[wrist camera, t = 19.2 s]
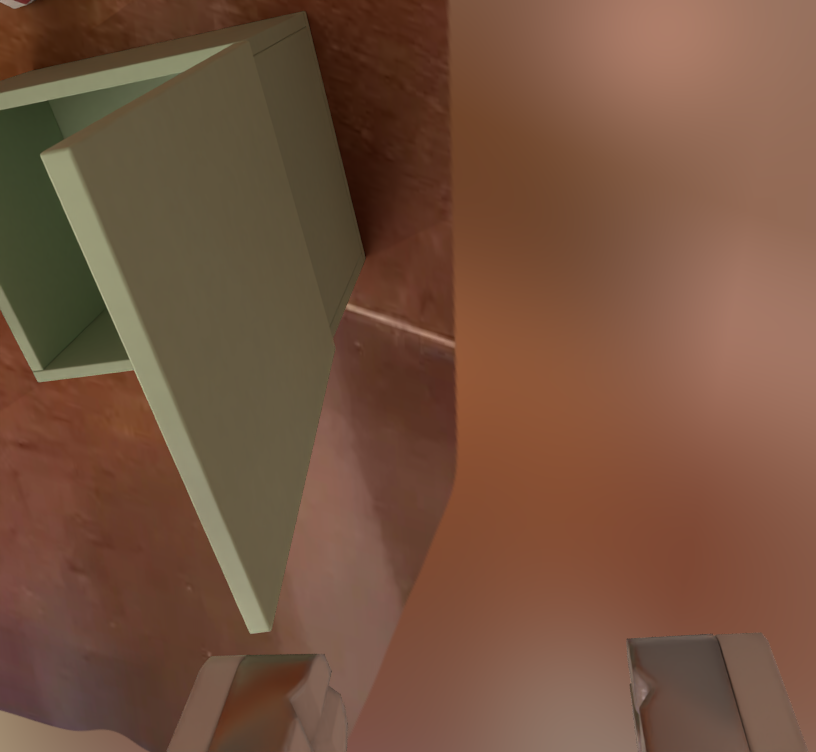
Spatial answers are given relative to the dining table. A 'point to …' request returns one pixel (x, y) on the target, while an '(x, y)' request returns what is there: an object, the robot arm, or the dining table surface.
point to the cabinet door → (210, 301)
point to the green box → (103, 94)
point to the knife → (16, 3)
